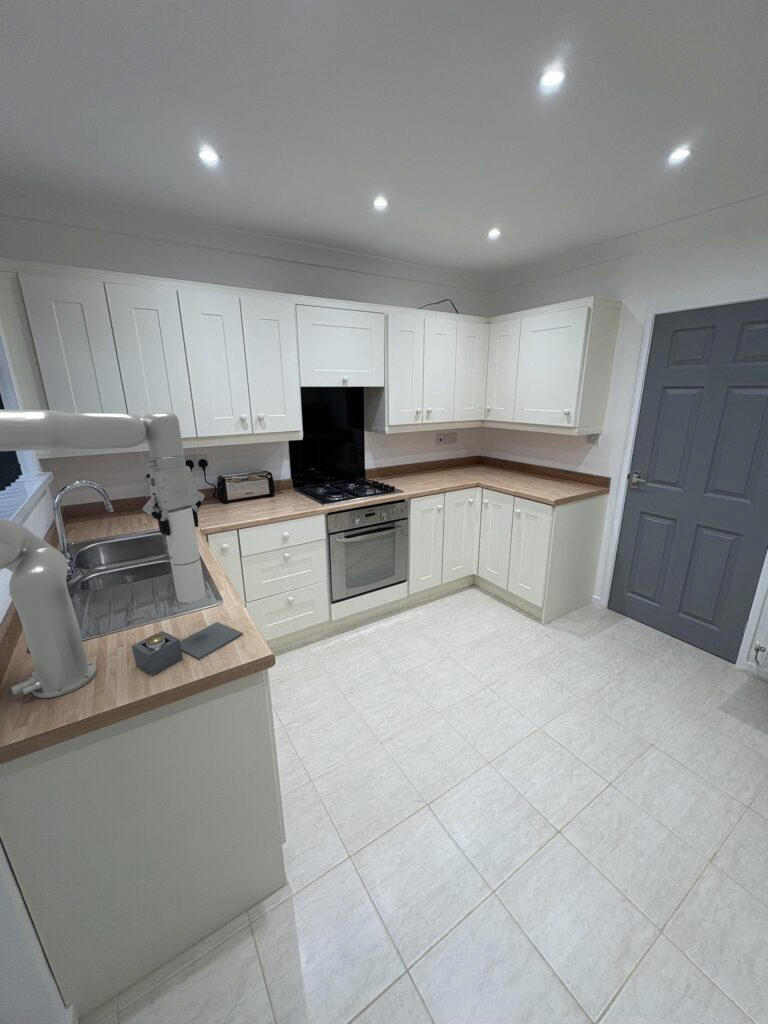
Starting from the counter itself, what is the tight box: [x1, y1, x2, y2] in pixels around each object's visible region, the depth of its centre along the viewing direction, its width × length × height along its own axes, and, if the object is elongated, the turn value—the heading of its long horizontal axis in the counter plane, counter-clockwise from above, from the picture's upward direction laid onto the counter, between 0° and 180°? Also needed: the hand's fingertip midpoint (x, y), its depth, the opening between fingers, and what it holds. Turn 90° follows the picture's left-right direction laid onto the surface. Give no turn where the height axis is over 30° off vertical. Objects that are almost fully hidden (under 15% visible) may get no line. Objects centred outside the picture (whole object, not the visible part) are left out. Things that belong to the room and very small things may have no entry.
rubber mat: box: [180, 621, 244, 661], centre depth 114 cm, size 14×12×1 cm
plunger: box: [145, 633, 166, 650], centre depth 104 cm, size 4×4×6 cm
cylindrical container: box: [165, 506, 207, 604], centre depth 108 cm, size 7×7×25 cm
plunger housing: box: [131, 630, 184, 677], centre depth 104 cm, size 8×8×6 cm
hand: (180, 529), depth 106 cm, fingers closed on cylindrical container, 7 cm apart
